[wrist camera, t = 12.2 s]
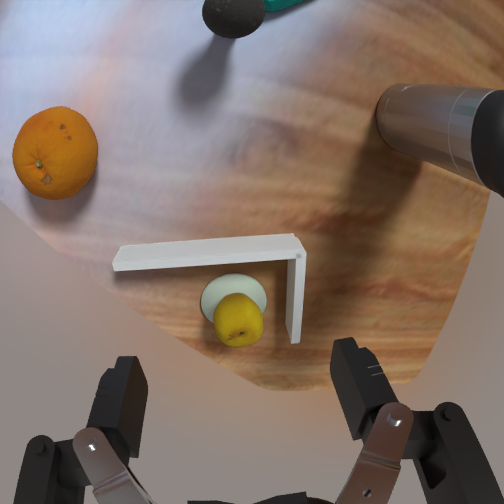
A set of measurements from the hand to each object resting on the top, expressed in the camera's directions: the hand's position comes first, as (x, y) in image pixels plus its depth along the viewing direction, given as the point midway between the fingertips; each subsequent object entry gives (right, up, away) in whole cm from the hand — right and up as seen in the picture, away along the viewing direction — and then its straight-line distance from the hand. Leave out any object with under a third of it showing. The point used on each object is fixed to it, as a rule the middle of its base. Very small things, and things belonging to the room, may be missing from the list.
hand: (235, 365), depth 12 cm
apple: (-2, -2, +32) cm, 32 cm away
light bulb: (-2, +29, +17) cm, 34 cm away
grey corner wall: (-5, 0, +31) cm, 31 cm away
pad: (-2, -2, +32) cm, 32 cm away
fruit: (-21, +17, +20) cm, 34 cm away
